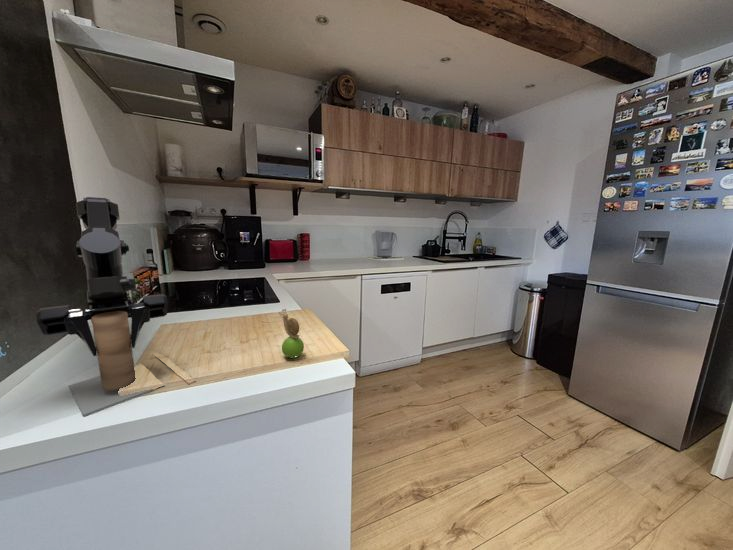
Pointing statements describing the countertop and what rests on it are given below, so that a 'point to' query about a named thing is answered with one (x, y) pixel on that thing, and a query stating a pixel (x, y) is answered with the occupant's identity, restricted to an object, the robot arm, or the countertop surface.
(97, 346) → the smooth brown cylinder
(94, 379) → the mat
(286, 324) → the snail figurine
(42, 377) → the countertop surface
